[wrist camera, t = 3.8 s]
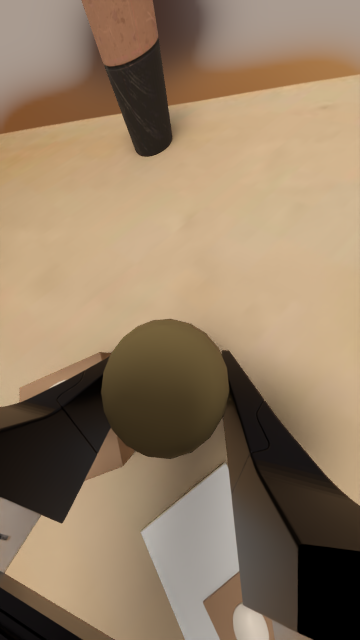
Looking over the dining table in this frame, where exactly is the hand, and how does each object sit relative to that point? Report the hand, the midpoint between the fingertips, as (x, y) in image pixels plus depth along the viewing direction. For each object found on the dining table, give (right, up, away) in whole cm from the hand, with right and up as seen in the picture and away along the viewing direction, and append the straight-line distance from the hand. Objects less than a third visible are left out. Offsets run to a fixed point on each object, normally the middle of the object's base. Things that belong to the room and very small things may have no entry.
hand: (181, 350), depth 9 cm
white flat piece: (+4, -17, +1) cm, 18 cm away
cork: (+1, -3, +6) cm, 7 cm away
